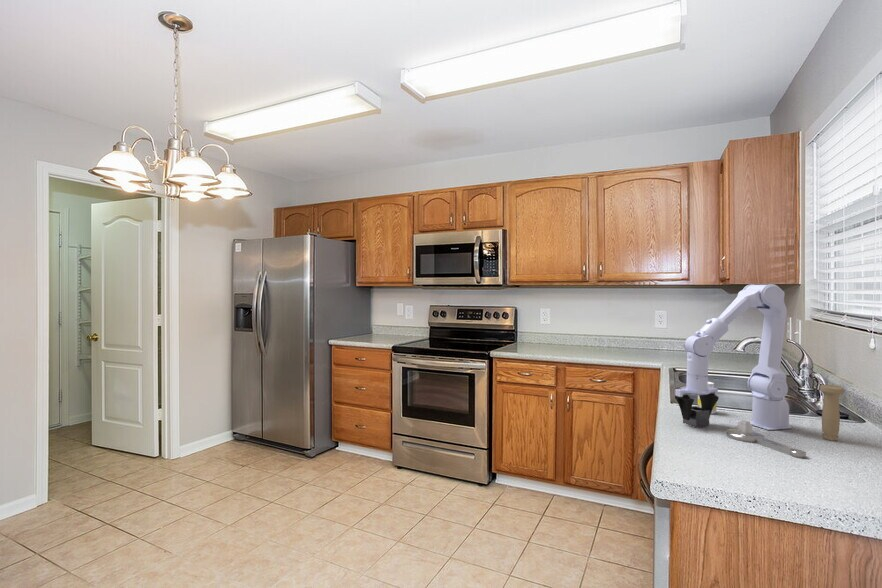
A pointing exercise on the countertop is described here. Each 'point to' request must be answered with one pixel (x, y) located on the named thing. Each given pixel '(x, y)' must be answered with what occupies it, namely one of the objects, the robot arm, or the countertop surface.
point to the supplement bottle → (715, 395)
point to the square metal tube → (698, 417)
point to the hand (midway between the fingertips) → (695, 418)
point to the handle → (831, 411)
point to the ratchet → (761, 439)
